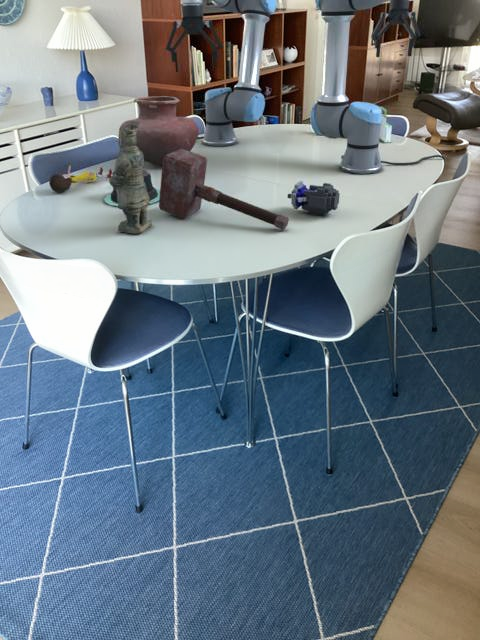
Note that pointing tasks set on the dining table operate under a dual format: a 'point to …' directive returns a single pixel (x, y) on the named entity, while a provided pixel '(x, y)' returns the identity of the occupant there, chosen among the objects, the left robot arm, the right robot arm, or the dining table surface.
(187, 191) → the sledgehammer
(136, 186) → the statue
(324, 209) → the toy
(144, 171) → the chocolate cake
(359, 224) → the dining table surface
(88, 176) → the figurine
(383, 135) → the ink box
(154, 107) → the clay pot
